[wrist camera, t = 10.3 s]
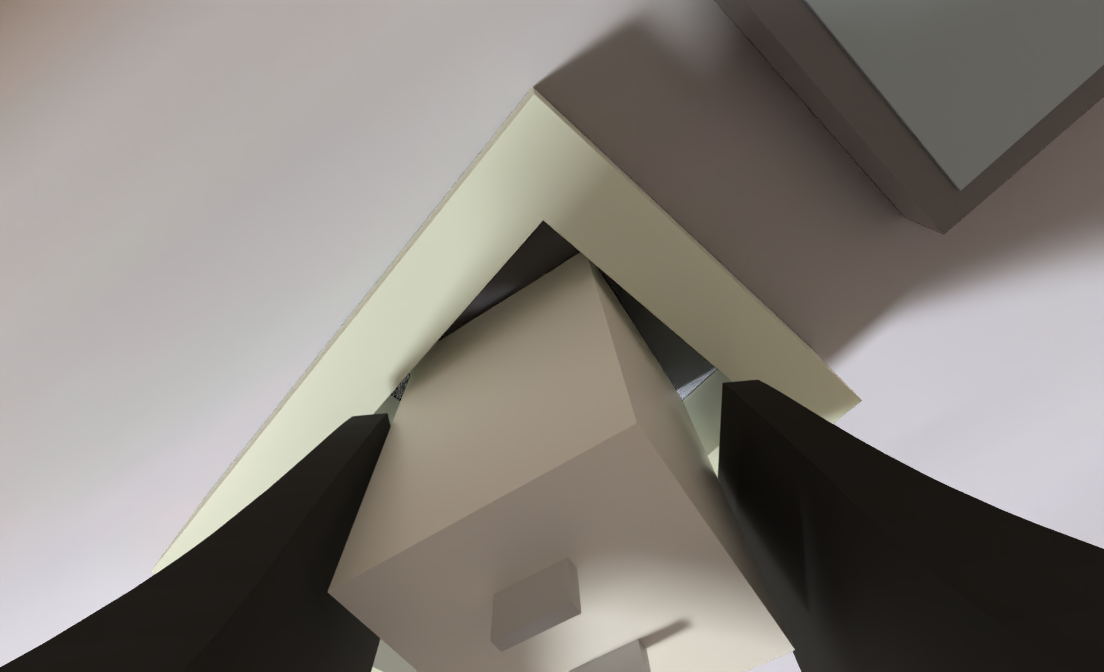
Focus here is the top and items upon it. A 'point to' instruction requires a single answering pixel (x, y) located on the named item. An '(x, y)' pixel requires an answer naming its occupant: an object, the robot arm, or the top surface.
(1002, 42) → the phone
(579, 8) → the top surface
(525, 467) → the charger
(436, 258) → the outlet plate
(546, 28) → the top surface
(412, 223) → the top surface
